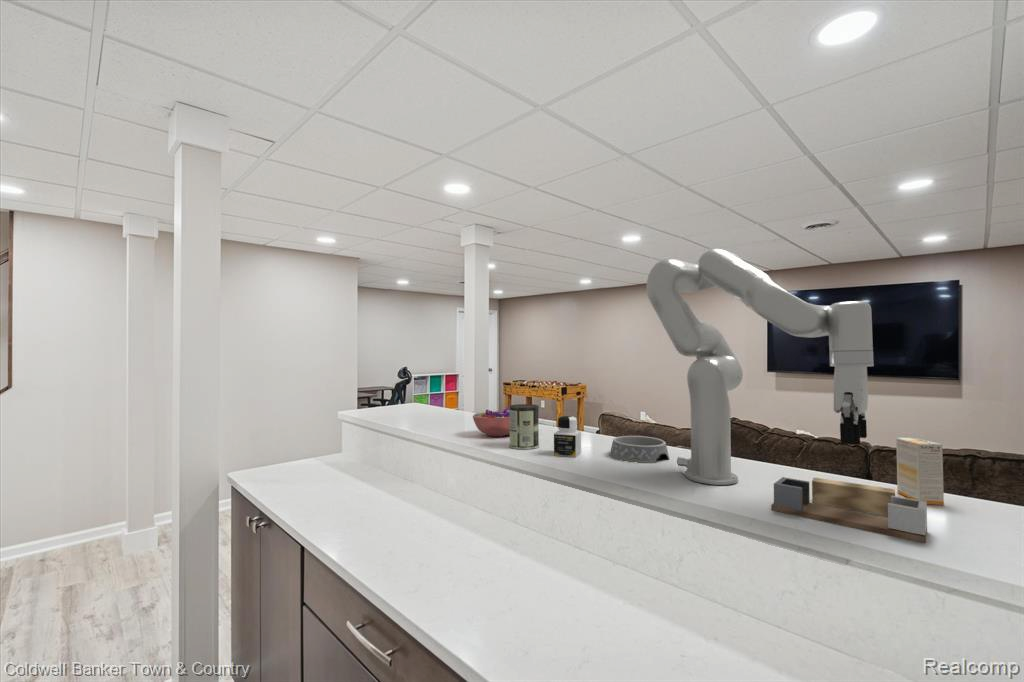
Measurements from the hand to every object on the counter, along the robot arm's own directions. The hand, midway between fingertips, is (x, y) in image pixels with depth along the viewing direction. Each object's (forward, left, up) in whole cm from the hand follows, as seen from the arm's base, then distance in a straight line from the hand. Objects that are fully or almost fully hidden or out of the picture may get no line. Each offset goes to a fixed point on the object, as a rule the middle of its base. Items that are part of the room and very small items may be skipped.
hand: (854, 440), depth 98 cm
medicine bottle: (-74, -1, -15) cm, 76 cm away
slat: (0, 0, -15) cm, 15 cm away
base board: (0, -10, -14) cm, 17 cm away
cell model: (-113, +6, -15) cm, 114 cm away
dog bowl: (-56, +12, -15) cm, 60 cm away
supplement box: (+10, +18, -15) cm, 25 cm away
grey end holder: (-9, -10, -13) cm, 19 cm away
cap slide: (+9, -10, -13) cm, 19 cm away
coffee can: (-92, -2, -15) cm, 94 cm away
